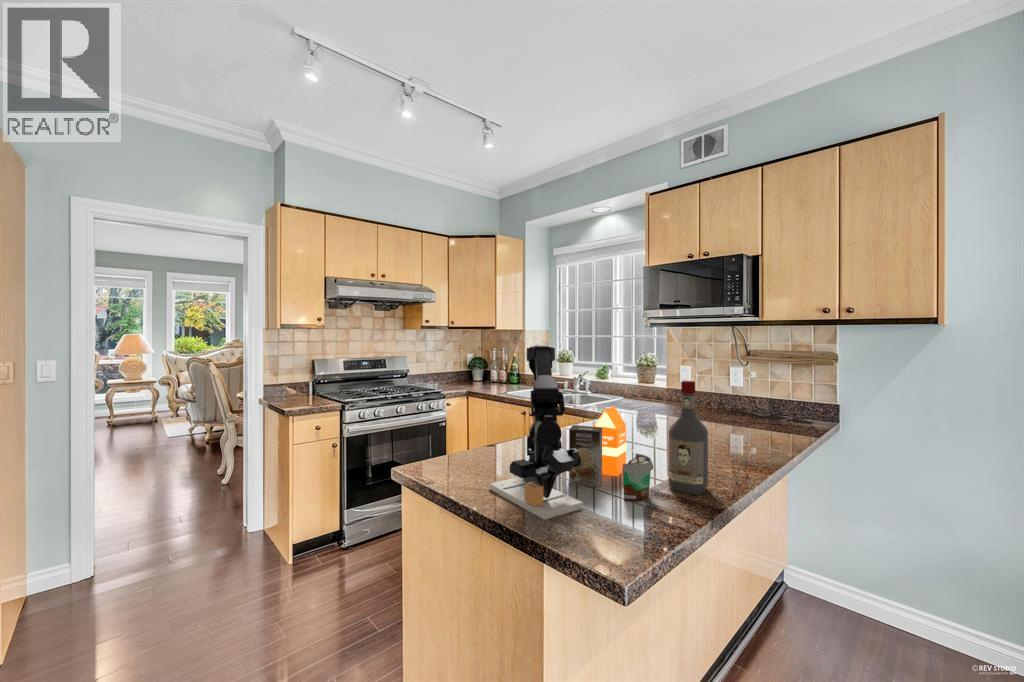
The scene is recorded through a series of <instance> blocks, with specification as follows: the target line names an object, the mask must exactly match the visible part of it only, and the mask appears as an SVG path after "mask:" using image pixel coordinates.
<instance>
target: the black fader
mask: <svg viewBox="0 0 1024 682" xmlns="http://www.w3.org/2000/svg"><path fill="white" fill-rule="evenodd" d="M523 481H525V482H527V483H529V482H536V483H538V482H537V480H536V479H535V477H534V476H533V477H528V478H523Z"/></svg>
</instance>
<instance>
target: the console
mask: <svg viewBox="0 0 1024 682" xmlns="http://www.w3.org/2000/svg"><path fill="white" fill-rule="evenodd" d="M525 483H527V482H525V481H523V478H520V477H518V476H516V477H513V478H509V479H504V480H500V481H495V482H491V483H489V490H490V491H493V492H494V493H496V494H498V495H499V496H501V497H503V498H505V499H506V500H508V501H510V502H512V503H514V504H515V505H517V506H519V507H521V508H522V509H523V510H526V511H527V512H530V514H533V515H534V516H537V517H539V518H540V519H541V520H543V521H545V520H548V519H551V518H552V519H553V518H554V517H558V516H562V515H566V514H569V513H571V512H572V513H573V512H576V511H579V510H582V509H583V504H584V503H583V502H582V501H581V500H579V499H577V498H574V497H572V496H570V495H568V494H565V493H563V492H561V491H558V490H557V489H554V488H553V487H552V490H551V493H550V496H549V498H545V497H544V496H543V504H541V505H537V506H533V505H531V504H529V503H527V502H525Z"/></svg>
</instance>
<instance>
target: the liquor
mask: <svg viewBox="0 0 1024 682" xmlns="http://www.w3.org/2000/svg"><path fill="white" fill-rule="evenodd" d="M680 390H681V391H680V392H681V412H680V416H679V417H677V419H676V421H675V422H673V424H672V425H671V426H670V428H669V430H668V486H669V488H670V489H671V490H673V491H674V492H677V493H683V494H686V495H687V494H688V495H692V496H694V495H695V496H696V495H703V493H705V492H706V489H707V488H708V486H709V471H708V469H709V465H708V464H709V456H708V455H709V450H708V449H709V431H708V429H707V427H706V426H705V425H704V424H703V422H701V420H700V419H699V418H698V417H697V416H696V415H697V414H696V409H695V407H696V406H695V405H696V404H695V403H696V402H695V401H696V400H695V398H696V397H695V393H696V381H695V380H694V381H692V380H681V389H680Z"/></svg>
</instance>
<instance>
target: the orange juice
mask: <svg viewBox="0 0 1024 682" xmlns="http://www.w3.org/2000/svg"><path fill="white" fill-rule="evenodd" d="M592 427H602V475H604V476H605V475H606V476H612V477H618V476H619V475H621V474H623V472H622V466H623V464H627V423H626V422H625V421H624V419H623V418H622V416H621V415H620V412H618V410H617V408H616V406H611V407H609V408H606V409H604V411H603V412H602V414H601V415H600V416H599V418H598V419H597V420H596V422H595V423H594V424H593V426H592Z"/></svg>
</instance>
